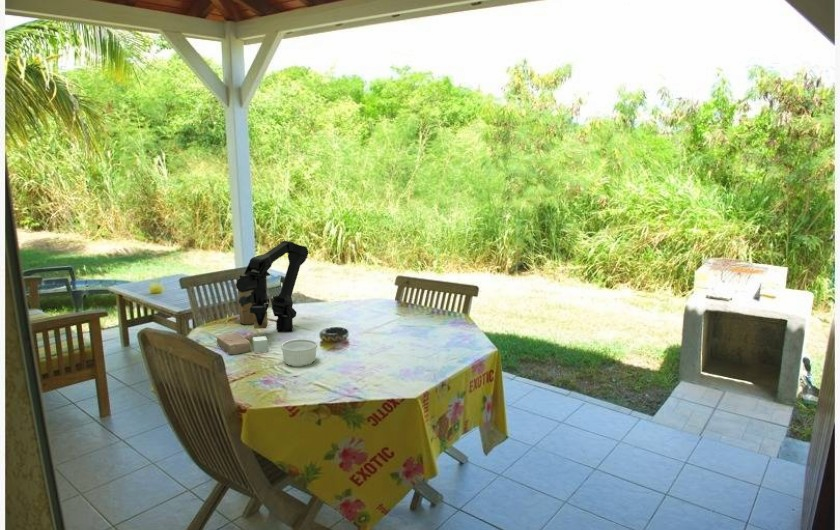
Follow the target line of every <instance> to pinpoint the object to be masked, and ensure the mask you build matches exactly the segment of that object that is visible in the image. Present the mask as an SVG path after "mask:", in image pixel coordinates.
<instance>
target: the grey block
mask: <svg viewBox="0 0 840 530" xmlns="http://www.w3.org/2000/svg"><path fill="white" fill-rule="evenodd" d="M268 345H269V344H268V339H267V336H266V335H264V336H253V337H252V350H253V352H254V354H258V353H257V352H261V353H266V352H265V351H269V347H268Z"/></svg>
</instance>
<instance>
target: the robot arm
mask: <svg viewBox="0 0 840 530" xmlns="http://www.w3.org/2000/svg"><path fill="white" fill-rule="evenodd" d="M286 254H287V258H288V262H289V263H288V267H287V269H286V273H285V276H284V280H283V283H282V286H281V289H280V293H279V294H278V295H274V296H273V300H272V302H271V298H270V296H269V295H268V282H267V280H268V278H267V277H269V276H271V274H270V272H268V271H269V269H270V268H271V267H272V265H273V263H274V262H275V261H277V260H278V259H280V258H282V257H283V256H284V255H286ZM308 256H309V250H308V247H307V246H306V245H300V244H297V243H295V242H293V241H289V240H282V241H280V243H279V244H278V245H276V246H275V247H273V248H271V249H270V250H268V251H267V252H266V253H263V254H258V255H256V256H254V257H252V258H250V260H249V262H248V265H247V266H246V268H245V271H244V273H243V274H241V275H239V278H238V279H237V281H236V283H235V287H236V289H237V292H238V291H240V292H242V293H243V292H247V291H250V290H252V292H251V293H249V294H247V295H244V296H241V297H239V299H238V298H237V299H238V300H239V303H240V305H241V306H244V305H245V304H248V303H251V304H253V305H252V306H251V307H250V313H254V314H255V315H256V318H257V322H258V325H259V326H261V325H262V322H263V320H264V317H265V314H266V311H267V312H268V308H269V305H270V304H271V310H272V313H273V316H274V317H277V318H276V330H277V332H278V333H287V332H290V333H291V332H293V330H294V325H293V323H294V322H293V321H294V320H293V319H295V318H296V317H297V314H298V313H297V312H298V311H296V310H295V309H294V307H293V304H294V301H293V297H292V295H293V292H294V288H295V285H296V282H297V278H298V275H299V271H300V268H301V266H302V265H303V264H304V263H305V262H306V260H307V259H308ZM238 300H237V301H238ZM270 302H271V303H270ZM239 303H238V304H239ZM255 303H256V304H255ZM269 303H270V304H269Z"/></svg>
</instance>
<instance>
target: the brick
mask: <svg viewBox="0 0 840 530" xmlns="http://www.w3.org/2000/svg"><path fill="white" fill-rule="evenodd" d="M216 343H217V344H218V345H219V346H218V345H217V346H218V347H220V346H221V347H220V349H222V348H223V349H224V351H225V352H226V353H227V352H228V353H227V354H228V355H237V354H244V353H248V352H251V342H250V340H248V339H246V338H245V337H243V336H242V335H241V334H239V333H237V332H235V331H233V332H228V333H226V332H225V333H222V334H217V336H216ZM223 349H222V350H223Z"/></svg>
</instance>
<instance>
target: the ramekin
mask: <svg viewBox="0 0 840 530" xmlns="http://www.w3.org/2000/svg"><path fill="white" fill-rule="evenodd" d="M317 348H318V343H317V342H316V341H315V340H313V339H309V338H308V339H307V338H295V339H289V340H287V341H285V342H283V343H282V344H281V348H280V349H281V352H282V357H283V358H282V359H283V361H284V363H285V364H286V365H287V364H288V366H290V365H292V366H291V367H303V366H302V365H306V366H308V365H307V364H309V365H311V364H313V363H314V362H315V361H316V357H317ZM313 361H314V362H313ZM312 362H313V363H312ZM310 363H311V364H310Z"/></svg>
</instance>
